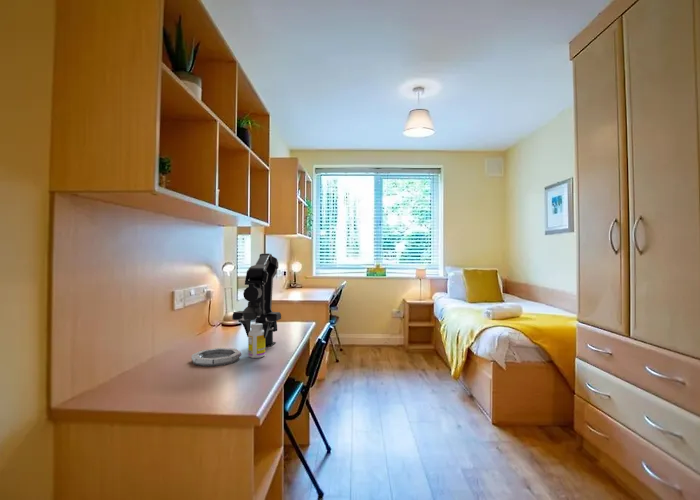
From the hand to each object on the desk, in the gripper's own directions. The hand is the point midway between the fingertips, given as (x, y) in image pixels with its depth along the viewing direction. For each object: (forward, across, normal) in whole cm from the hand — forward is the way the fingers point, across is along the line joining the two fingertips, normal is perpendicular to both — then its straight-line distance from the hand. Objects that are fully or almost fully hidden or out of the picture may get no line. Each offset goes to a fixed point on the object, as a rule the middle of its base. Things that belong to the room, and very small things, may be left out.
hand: (256, 337), depth 153 cm
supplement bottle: (+8, 0, 0) cm, 8 cm away
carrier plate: (+8, -13, -8) cm, 17 cm away
